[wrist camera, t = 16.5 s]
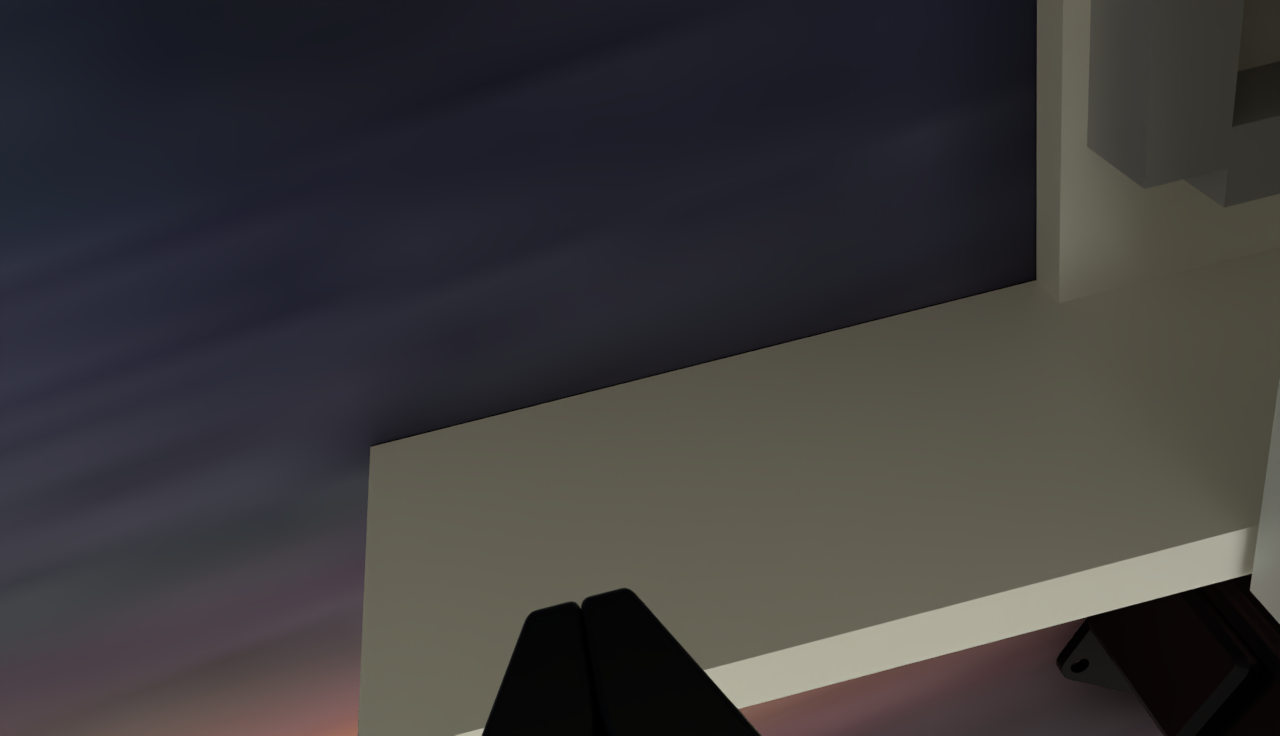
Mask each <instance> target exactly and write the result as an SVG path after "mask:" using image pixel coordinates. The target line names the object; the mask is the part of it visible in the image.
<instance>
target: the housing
mask: <svg viewBox="0 0 1280 736" xmlns="http://www.w3.org/2000/svg"><path fill="white" fill-rule="evenodd" d="M1279 377H1280V0H1037V229H1036V280H1035V281H1031V282H1027V283H1023V284H1019V285H1015V286H1011V287H1007V288H1003V289H999V290H995V291H991V292H987V293H983V294H979V295H975V296H971V297H967V298H963V299H959V300H955V301H951V302H947V303H943V304H939V305H935V306H931V307H927V308H923V309H919V310H915V311H911V312H907V313H903V314H899V315H895V316H891V317H887V318H883V319H879V320H875V321H871V322H867V323H863V324H859V325H855V326H851V327H847V328H843V329H839V330H835V331H831V332H827V333H823V334H819V335H815V336H811V337H807V338H803V339H799V340H795V341H791V342H787V343H783V344H779V345H775V346H771V347H767V348H763V349H759V350H755V351H752V352H748V353H744V354H740V355H736V356H732V357H728V358H724V359H720V360H716V361H712V362H708V363H704V364H700V365H696V366H692V367H688V368H684V369H680V370H676V371H672V372H668V373H664V374H660V375H656V376H652V377H648V378H644V379H640V380H636V381H632V382H628V383H624V384H620V385H616V386H612V387H608V388H604V389H600V390H596V391H592V392H588V393H584V394H580V395H576V396H572V397H568V398H564V399H560V400H556V401H552V402H548V403H544V404H540V405H536V406H532V407H528V408H524V409H520V410H516V411H512V412H508V413H504V414H500V415H496V416H492V417H488V418H484V419H480V420H476V421H472V422H468V423H464V424H460V425H456V426H452V427H448V428H444V429H440V430H436V431H432V432H428V433H424V434H420V435H416V436H412V437H408V438H404V439H400V440H396V441H392V442H388V443H384V444H380V445H376V446H372V447H370V467H369V490H368V512H367V535H366V558H365V581H364V604H363V627H362V650H361V673H360V696H359V719H358V736H482V733H483V730H484V728H485V725H486V722H487V720H488V717H489V714H490V712H491V709H492V706H493V704H494V701H495V698H496V696H497V693H498V691H499V688H500V685H501V683H502V680H503V677H504V675H505V672H506V669H507V667H508V664H509V661H510V659H511V656H512V653H513V651H514V648H515V646H516V643H517V640H518V638H519V635H520V632H521V630H522V627H523V624H524V622H525V620H526V618H527V616H528V615H529V614H530V613H531V612H532V611H535V610H538V609H542V608H546V607H550V606H554V605H558V604H561V603H565V602H570V601H573V602H576V603H577V604H578V605H579V606H580V608H581V604H582V601H583V600H584V599H585V598H586V597H589V596H593V595H597V594H600V593H604V592H608V591H612V590H616V589H620V588H628V589H631V590H632V591H633V592H635V593H636V594H637V596H638V597H639V598H640V599H641V600H642V601H643V602H644V604H645V605H646V606H647V607H648V608H649V609H650V610H651V611H652V613H653V614H654V615H655V616H656V617H657V618H658V619H659V620H660V622H661V623H662V624H663V625H664V626H665V627H666V628H667V629H668V631H669V632H670V633H671V634H672V635H673V636H674V637H675V639H676V640H677V641H678V642H679V643H680V644H681V645H682V646H683V648H684V649H685V650H686V651H687V652H688V653H689V654H690V655H691V657H692V658H693V659H694V660H695V661H696V662H697V663H698V664H699V666H700V667H701V668H702V669H703V670H704V671H705V672H706V673H707V675H708V676H709V677H710V678H711V679H712V680H713V681H714V683H715V684H716V685H717V686H718V687H719V688H720V689H721V690H722V692H723V693H724V694H725V695H726V696H727V697H728V698H729V699H730V701H731V702H732V703H733V704H734V705H735V706H736V707H737V708H738V709H740V708H744V707H747V706H751V705H755V704H759V703H763V702H766V701H770V700H774V699H778V698H782V697H785V696H789V695H793V694H797V693H801V692H804V691H808V690H812V689H816V688H820V687H823V686H827V685H831V684H835V683H838V682H842V681H846V680H850V679H854V678H857V677H861V676H865V675H869V674H873V673H876V672H880V671H884V670H888V669H892V668H895V667H899V666H903V665H907V664H911V663H914V662H918V661H922V660H926V659H929V658H933V657H937V656H941V655H945V654H948V653H952V652H956V651H960V650H964V649H967V648H971V647H975V646H979V645H983V644H986V643H990V642H994V641H998V640H1002V639H1005V638H1009V637H1013V636H1017V635H1020V634H1024V633H1028V632H1032V631H1036V630H1039V629H1043V628H1047V627H1051V626H1055V625H1058V624H1062V623H1066V622H1070V621H1074V620H1077V619H1081V618H1085V617H1089V616H1093V615H1096V614H1100V613H1104V612H1108V611H1112V610H1115V609H1119V608H1123V607H1127V606H1130V605H1134V604H1138V603H1142V602H1146V601H1149V600H1153V599H1157V598H1161V597H1165V596H1168V595H1172V594H1176V593H1180V592H1184V591H1187V590H1191V589H1195V588H1199V587H1203V586H1206V585H1210V584H1214V583H1218V582H1221V581H1225V580H1229V579H1233V578H1237V577H1240V576H1244V575H1248V574H1252V571H1253V564H1254V557H1255V550H1256V543H1257V535H1258V528H1259V521H1260V514H1261V507H1262V500H1263V492H1264V485H1265V478H1266V471H1267V464H1268V456H1269V449H1270V442H1271V435H1272V428H1273V421H1274V413H1275V406H1276V399H1277V392H1278V385H1279Z"/></svg>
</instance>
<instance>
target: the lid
mask: <svg viewBox="0 0 1280 736" xmlns="http://www.w3.org/2000/svg"><path fill="white" fill-rule="evenodd" d="M1250 591H1251V592H1252V593H1253V594H1254V596H1255V597H1256V598H1257V599H1258V600H1259V601H1260V602H1261V603H1262V605H1263V606H1264V607H1265V608H1266V609H1267V610H1268V611H1269V612H1270V614H1271V615H1272V616H1273V617H1274V618H1275V619H1276V620H1277V621H1278V623H1279V624H1280V377H1279V385H1278V392H1277V399H1276V406H1275V413H1274V421H1273V428H1272V435H1271V442H1270V449H1269V456H1268V464H1267V471H1266V478H1265V485H1264V492H1263V500H1262V507H1261V514H1260V521H1259V528H1258V535H1257V543H1256V550H1255V557H1254V564H1253V571H1252V579H1251V586H1250Z"/></svg>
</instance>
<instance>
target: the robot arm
mask: <svg viewBox="0 0 1280 736" xmlns="http://www.w3.org/2000/svg"><path fill="white" fill-rule="evenodd" d="M1251 579H1252V574H1248V575H1244V576H1240V577H1237V578H1233V579H1229V580H1225V581H1221V582H1218V583H1214V584H1210V585H1206V586H1203V587H1199V588H1195V589H1191V590H1187V591H1184V592H1180V593H1176V594H1172V595H1168V596H1165V597H1161V598H1157V599H1153V600H1149V601H1146V602H1142V603H1138V604H1134V605H1130V606H1127V607H1123V608H1119V609H1115V610H1112V611H1108V612H1104V613H1100V614H1096V615H1093V616H1089V617H1088V618H1087V619H1086V620H1085V622H1084V623H1083V624H1082V625H1081V627H1080V628H1079V629H1078V631H1077V632H1076V633H1075V635H1074V636H1073V637H1072V639H1071V640H1070V641H1069V642H1068V644H1067V645H1066V646H1065V648H1064V649H1063V650H1062V652H1061V653H1060V654H1059V656H1058V658H1057V666H1058V668H1059V669H1060V671H1061V673H1062V674H1063V676H1064V677H1065V678H1067V679H1070V680H1075V681H1079V682H1084V683H1089V684H1093V685H1098V686H1103V687H1107V688H1112V689H1117V690H1121V691H1126V692H1131V693H1135V695H1136V696H1137V698H1138V699H1139V701H1140V702H1141V703H1142V705H1143V706H1144V708H1145V709H1146V711H1147V712H1148V714H1149V715H1150V716H1151V718H1152V719H1153V721H1154V722H1155V724H1156V725H1157V727H1158V728H1159V729H1160V731H1161V732H1162V734H1163V735H1164V736H1280V624H1279V623H1278V621H1277V620H1276V619H1275V618H1274V617H1273V616H1272V615H1271V614H1270V612H1269V611H1268V610H1267V609H1266V608H1265V607H1264V606H1263V605H1262V603H1261V602H1260V601H1259V600H1258V599H1257V598H1256V597H1255V596H1254V594H1253V593H1252V592H1251V591H1250V586H1251ZM1079 659H1082V660H1081V661H1080V662H1079V663H1076V664H1074V665H1072V664H1073V663H1074V662H1075V661H1076V660H1079ZM482 736H761V734H760V733H759V732H758V731H757V730H756V729H755V728H754V727H753V725H752V724H751V723H750V722H749V721H748V720H747V719H746V718H745V716H744V715H743V714H742V713H741V712H740V711H739V710H738V708H737V707H736V706H735V705H734V704H733V703H732V702H731V701H730V699H729V698H728V697H727V696H726V695H725V694H724V693H723V692H722V690H721V689H720V688H719V687H718V686H717V685H716V684H715V683H714V681H713V680H712V679H711V678H710V677H709V676H708V675H707V673H706V672H705V671H704V670H703V669H702V668H701V667H700V666H699V664H698V663H697V662H696V661H695V660H694V659H693V658H692V657H691V655H690V654H689V653H688V652H687V651H686V650H685V649H684V648H683V646H682V645H681V644H680V643H679V642H678V641H677V640H676V639H675V637H674V636H673V635H672V634H671V633H670V632H669V631H668V629H667V628H666V627H665V626H664V625H663V624H662V623H661V622H660V620H659V619H658V618H657V617H656V616H655V615H654V614H653V613H652V611H651V610H650V609H649V608H648V607H647V606H646V605H645V604H644V602H643V601H642V600H641V599H640V598H639V597H638V596H637V594H636V593H635V592H633V591H632V590H631V589H628V588H620V589H616V590H612V591H608V592H604V593H600V594H597V595H593V596H589V597H586V598H585V599H584V600H583V601H582V604H581V608H580V606H579V605H578V604H577V603H576V602H573V601H570V602H565V603H561V604H558V605H554V606H550V607H546V608H542V609H538V610H535V611H532V612H531V613H530V614H529V615H528V616H527V618H526V620H525V622H524V624H523V627H522V630H521V632H520V635H519V638H518V640H517V643H516V646H515V648H514V651H513V653H512V656H511V659H510V661H509V664H508V667H507V669H506V672H505V675H504V677H503V680H502V683H501V685H500V688H499V691H498V693H497V696H496V698H495V701H494V704H493V706H492V709H491V712H490V714H489V717H488V720H487V722H486V725H485V728H484V730H483V733H482Z"/></svg>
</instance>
